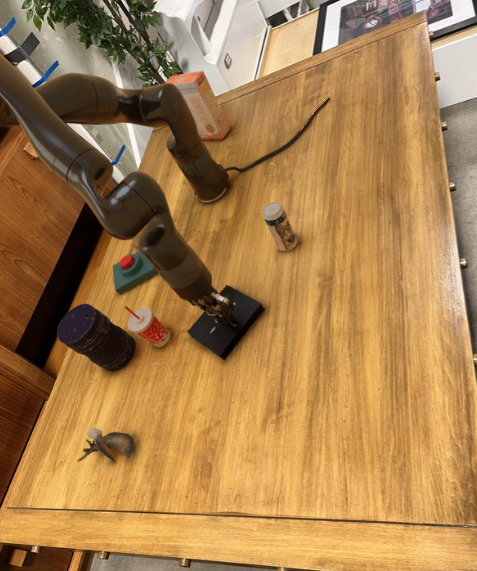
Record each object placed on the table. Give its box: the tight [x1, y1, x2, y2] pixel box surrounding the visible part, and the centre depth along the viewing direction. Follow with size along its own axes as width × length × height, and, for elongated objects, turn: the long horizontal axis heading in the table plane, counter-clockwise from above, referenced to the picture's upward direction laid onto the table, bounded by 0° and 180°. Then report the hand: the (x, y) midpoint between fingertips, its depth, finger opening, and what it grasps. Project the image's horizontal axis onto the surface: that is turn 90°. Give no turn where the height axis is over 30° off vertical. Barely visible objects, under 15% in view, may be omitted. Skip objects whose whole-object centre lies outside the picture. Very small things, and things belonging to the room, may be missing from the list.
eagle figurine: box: [76, 427, 136, 464], centre depth 77 cm, size 8×7×9 cm
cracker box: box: [165, 70, 231, 141], centre depth 128 cm, size 14×6×21 cm, turn 58°
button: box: [119, 254, 135, 269], centre depth 105 cm, size 4×4×2 cm
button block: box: [112, 250, 159, 295], centre depth 107 cm, size 12×10×4 cm
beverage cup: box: [124, 305, 171, 348], centre depth 86 cm, size 6×6×14 cm
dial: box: [206, 305, 226, 326], centre depth 82 cm, size 4×4×5 cm
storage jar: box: [56, 303, 137, 373], centre depth 88 cm, size 10×10×15 cm
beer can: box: [262, 201, 298, 252], centre depth 88 cm, size 5×5×12 cm
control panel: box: [186, 284, 266, 362], centre depth 85 cm, size 14×11×3 cm
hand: (221, 317), depth 83 cm, fingers closed on dial, 4 cm apart
